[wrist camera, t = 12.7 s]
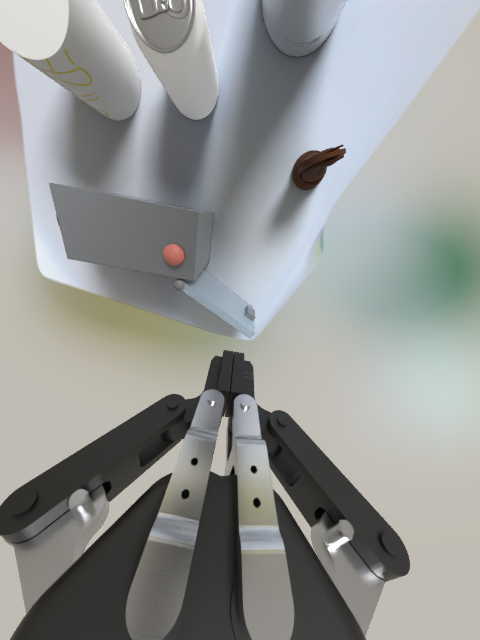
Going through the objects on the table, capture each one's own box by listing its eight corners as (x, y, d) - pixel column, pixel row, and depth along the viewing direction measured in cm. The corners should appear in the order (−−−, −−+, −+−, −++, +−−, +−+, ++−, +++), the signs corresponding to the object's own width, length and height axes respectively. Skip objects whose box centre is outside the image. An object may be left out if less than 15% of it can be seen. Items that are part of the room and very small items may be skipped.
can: (222, 118, 27) (207, 55, 16) (176, 124, 27) (132, 65, 16) (215, 46, 24) (191, -92, 13) (164, 53, 24) (100, -75, 13)
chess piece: (324, 185, 30) (356, 172, 21) (291, 194, 31) (309, 186, 22) (322, 147, 28) (358, 116, 19) (287, 159, 29) (306, 133, 20)
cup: (71, 93, 26) (-48, 9, 15) (82, 6, 22) (-63, -179, 12) (131, 134, 28) (61, 85, 17) (149, 60, 24) (76, -58, 14)
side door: (248, 310, 39) (249, 339, 30) (191, 267, 35) (171, 286, 26) (255, 303, 38) (258, 331, 29) (197, 258, 34) (179, 274, 25)
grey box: (102, 191, 31) (21, 177, 20) (213, 213, 32) (197, 212, 21) (109, 243, 35) (45, 257, 24) (209, 261, 36) (192, 283, 25)
